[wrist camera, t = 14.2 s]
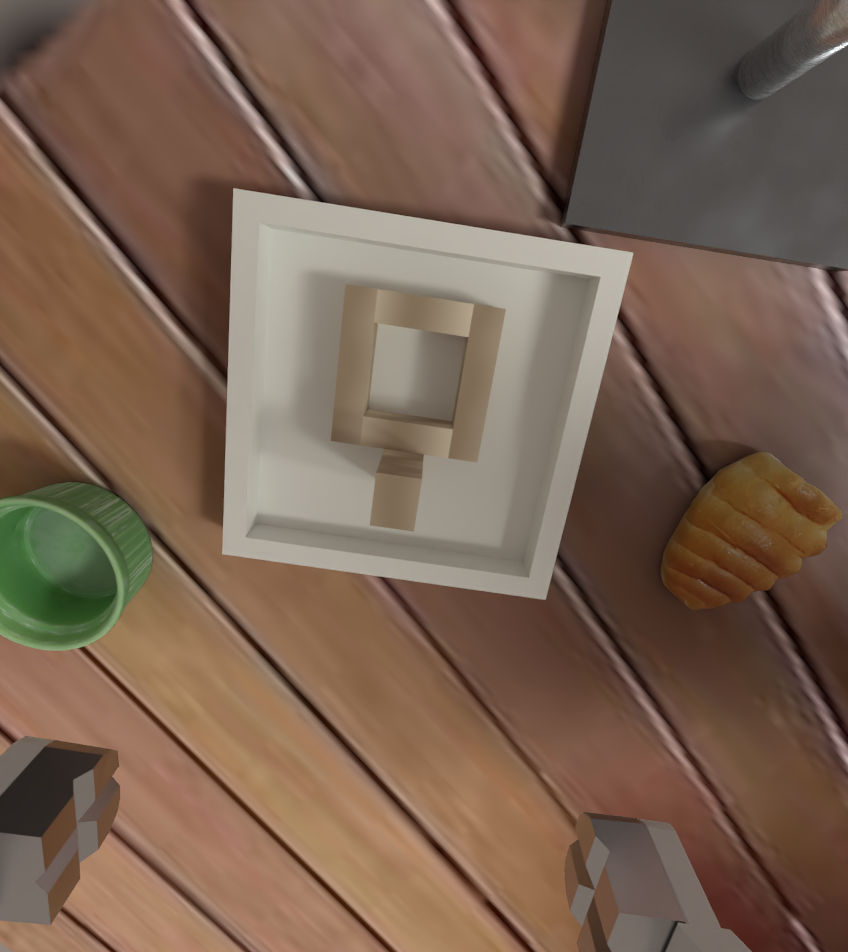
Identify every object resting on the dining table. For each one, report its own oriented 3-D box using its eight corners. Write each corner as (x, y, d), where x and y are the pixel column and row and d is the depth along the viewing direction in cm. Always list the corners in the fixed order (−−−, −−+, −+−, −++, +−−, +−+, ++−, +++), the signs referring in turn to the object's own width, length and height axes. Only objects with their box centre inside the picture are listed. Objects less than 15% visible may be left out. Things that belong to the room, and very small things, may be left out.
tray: (614, 258, 25) (633, 252, 23) (537, 577, 31) (545, 599, 29) (252, 199, 25) (233, 188, 23) (238, 535, 30) (222, 554, 28)
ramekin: (112, 633, 33) (65, 680, 29) (-14, 544, 31) (-83, 581, 27) (193, 541, 31) (155, 577, 27) (63, 440, 29) (1, 462, 25)
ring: (500, 309, 26) (519, 308, 20) (466, 494, 29) (474, 540, 23) (351, 286, 25) (328, 278, 20) (333, 475, 29) (308, 516, 23)
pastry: (709, 615, 32) (744, 654, 28) (626, 558, 31) (651, 591, 27) (826, 499, 29) (881, 525, 26) (740, 432, 28) (784, 450, 25)
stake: (970, -90, 21) (1336, -362, 13) (837, 271, 25) (1042, 251, 17) (638, -151, 21) (783, -474, 12) (560, 226, 25) (625, 182, 16)
